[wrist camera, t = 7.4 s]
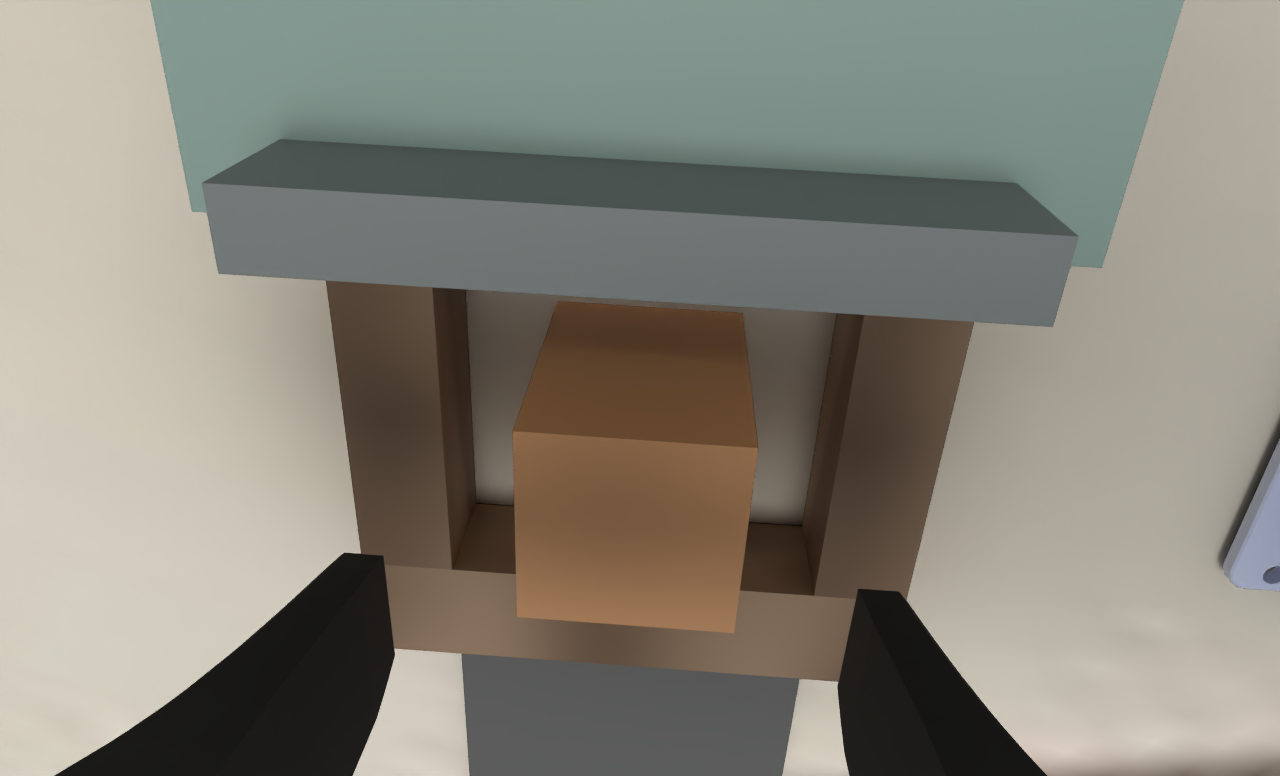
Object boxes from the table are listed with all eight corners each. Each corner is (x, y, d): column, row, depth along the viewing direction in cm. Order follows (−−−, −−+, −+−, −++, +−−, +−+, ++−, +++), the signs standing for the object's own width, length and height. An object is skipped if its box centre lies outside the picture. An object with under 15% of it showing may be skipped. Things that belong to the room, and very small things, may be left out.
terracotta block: (742, 312, 19) (758, 448, 14) (725, 467, 21) (734, 633, 16) (557, 300, 19) (512, 430, 15) (557, 455, 21) (517, 617, 16)
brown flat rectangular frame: (1129, -589, 12) (1222, -695, 10) (867, 610, 23) (885, 685, 21) (282, -619, 13) (195, -728, 11) (403, 576, 23) (373, 646, 21)
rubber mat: (803, 635, 23) (805, 646, 23) (765, 852, 28) (766, 864, 27) (462, 610, 24) (459, 620, 23) (476, 829, 28) (474, 841, 28)
